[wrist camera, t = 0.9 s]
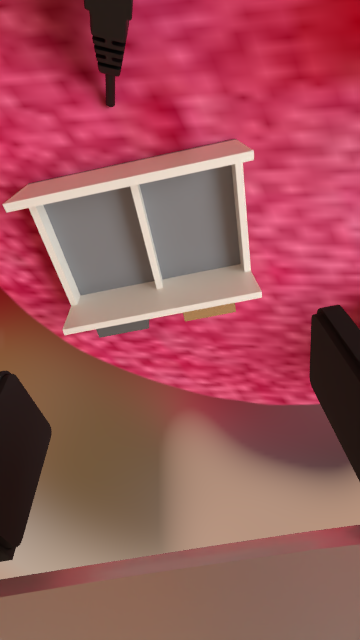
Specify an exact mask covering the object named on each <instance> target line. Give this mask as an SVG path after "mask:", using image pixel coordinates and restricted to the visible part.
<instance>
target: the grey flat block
mask: <svg viewBox="0 0 360 640" xmlns="http://www.w3.org/2000/svg"><path fill="white" fill-rule="evenodd" d="M147 328H149V319H146V320H141V321H136V322H131V323H125V324H120V325H115V326H110V327H104V328H99V329H96V330H97V332H98V335H99V337H105V336H110V335H116V334H121V333H126V332H131V331H137V330H142V329H147Z"/></svg>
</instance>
